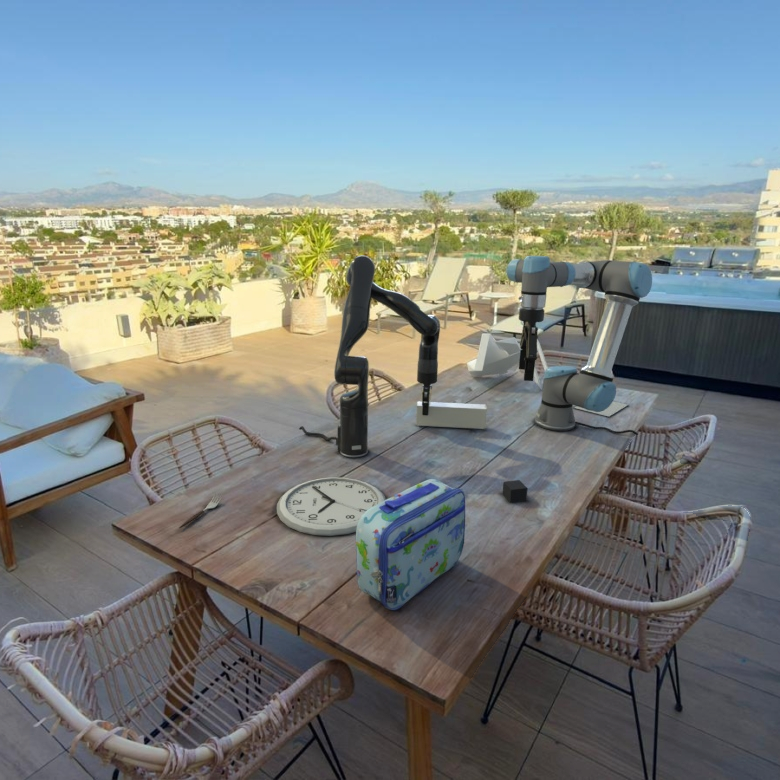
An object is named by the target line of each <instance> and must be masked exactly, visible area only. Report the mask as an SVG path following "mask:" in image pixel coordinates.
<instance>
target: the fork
mask: <svg viewBox="0 0 780 780" xmlns="http://www.w3.org/2000/svg"><path fill="white" fill-rule="evenodd" d="M222 498H223V495H221V493H220V494H217V493H215V494H214V495H213V497H212V499H211V500H210V502H209V503H208V504H207V505H206V507H205V508H204V509H202V510H200V511H199V512H197V513H195V514H193V515H192V516H191V517H190V518H188V519H187V520H186V521H185V522H184V523H183V524H181V525H180V526H179V527H178V529H182V528H183V527H185V526H186V525H188V524H189V523H191V522H193V521H195V520H196V519H197V518H198V517H200V516H201V515H202V514H203V513H204V512H205V511H207V510H210V509H211V510H212V509H215V508H216V507H217V506H218V505H219V503H220V501H221V499H222Z"/></svg>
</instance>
